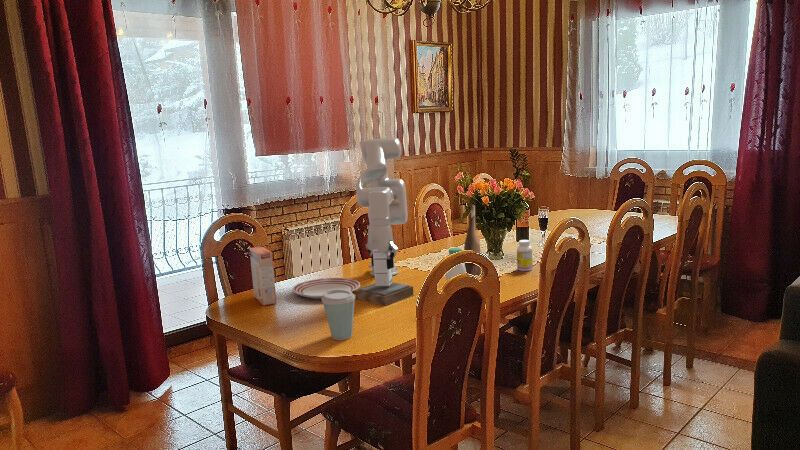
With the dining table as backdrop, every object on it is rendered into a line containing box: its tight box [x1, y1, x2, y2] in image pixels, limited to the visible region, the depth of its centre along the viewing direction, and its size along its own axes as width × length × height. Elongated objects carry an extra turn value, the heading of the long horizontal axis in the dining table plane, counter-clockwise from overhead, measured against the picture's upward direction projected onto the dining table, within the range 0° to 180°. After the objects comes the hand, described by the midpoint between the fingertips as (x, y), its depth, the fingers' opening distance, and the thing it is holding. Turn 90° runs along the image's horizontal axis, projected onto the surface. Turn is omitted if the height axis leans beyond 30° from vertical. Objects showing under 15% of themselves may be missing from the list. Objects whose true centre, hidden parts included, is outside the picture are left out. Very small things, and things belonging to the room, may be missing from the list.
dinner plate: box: [292, 277, 361, 300], centre depth 243 cm, size 27×27×3 cm
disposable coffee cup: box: [321, 289, 356, 341], centre depth 190 cm, size 11×11×15 cm
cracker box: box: [249, 246, 277, 307], centre depth 235 cm, size 14×6×21 cm, turn 27°
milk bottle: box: [445, 247, 466, 281], centre depth 220 cm, size 8×8×20 cm
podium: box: [354, 282, 414, 307], centre depth 232 cm, size 16×16×4 cm
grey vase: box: [463, 204, 482, 276], centre depth 246 cm, size 11×12×32 cm
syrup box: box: [373, 249, 393, 286], centre depth 230 cm, size 6×6×14 cm
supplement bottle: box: [516, 239, 533, 272], centre depth 260 cm, size 7×7×13 cm
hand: (382, 266), depth 230 cm, fingers closed on syrup box, 7 cm apart
